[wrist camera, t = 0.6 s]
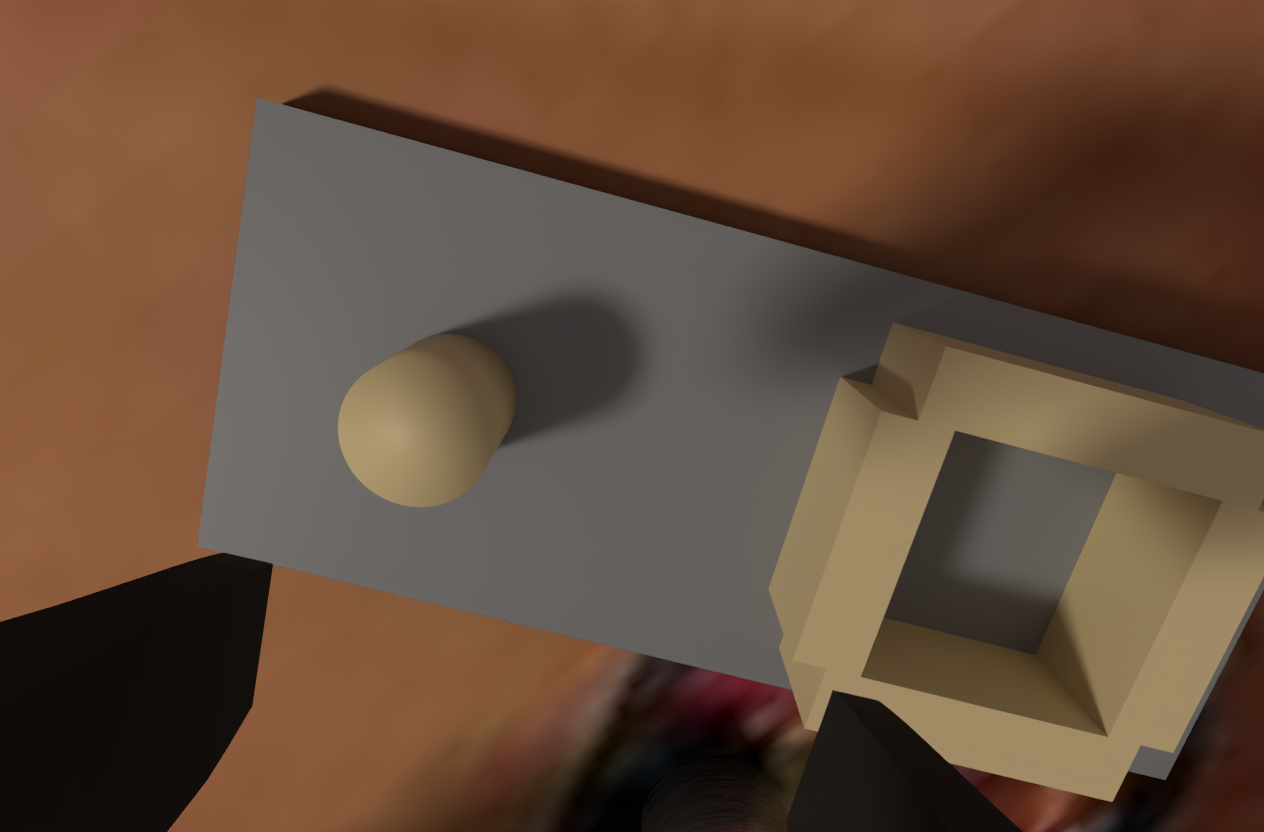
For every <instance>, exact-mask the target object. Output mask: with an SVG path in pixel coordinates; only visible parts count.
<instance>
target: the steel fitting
mask: <svg viewBox="0 0 1264 832" xmlns="http://www.w3.org/2000/svg"><path fill="white" fill-rule="evenodd" d="M789 812H790V809H789V806H788V803H787V800H786V797H785V796H784V794H783V792H782V790H781V789H780V788H779V786H778V785H777V784H776V783H775V782H774V781H773V780H772V778H770V777H769V776H768V775H767V774H765V773H764V772H762V771H761V770H759V769H757V768H756V767H753V766H751V765H749V764H746V763H743V762H740V761H736V760H730V759H718V758H717V759H705V760H698V761H695V762H691V763H688V764H685V765H683V766H681V767H678V768H677V769H675V770H673V771H671V772H670V773H669V774H667V775H666V776H664V777H663V778H662V779H661V780H660V781H659V782H658V783H657V784H656V785H655V787H654V788H653V789H652V790H651V792H650V794H649V795H648V797H647V799H646V802H645V804H644V807H643V812H642V820H641V832H787V823H786V821H787V818H788V815H789Z"/></svg>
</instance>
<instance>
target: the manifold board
mask: <svg viewBox="0 0 1264 832" xmlns="http://www.w3.org/2000/svg"><path fill="white" fill-rule="evenodd" d="M197 547H201V548H205V549H210V550H214V551H218V552H222V553H228V554H233V555H237V556H241V557H246V558H250V559H255V560H259V561H264V562H268V563H272V564H273V565H276V566H280V567H284V568H288V569H293V570H297V571H301V572H305V573H309V574H313V575H317V576H322V577H326V578H330V579H334V580H338V581H342V582H346V583H351V584H355V585H359V586H363V587H367V588H371V589H375V590H380V591H384V592H388V593H392V594H396V595H400V596H404V597H409V598H413V599H417V600H421V601H425V602H429V603H434V604H438V605H442V606H446V607H450V608H454V609H458V610H463V611H467V612H471V613H475V614H479V615H483V616H487V617H492V618H496V619H500V620H504V621H508V622H512V623H516V624H521V625H525V626H529V627H533V628H537V629H541V630H545V631H550V632H554V633H558V634H562V635H566V636H570V637H574V638H579V639H583V640H587V641H591V642H595V643H599V644H604V645H608V646H612V647H616V648H620V649H624V650H628V651H633V652H637V653H641V654H645V655H649V656H653V657H657V658H662V659H666V660H670V661H674V662H678V663H682V664H686V665H691V666H695V667H699V668H703V669H707V670H711V671H715V672H720V673H724V674H728V675H732V676H736V677H740V678H744V679H749V680H753V681H757V682H761V683H765V684H769V685H774V686H778V687H782V688H786V689H790V690H792V691H793V694H794V697H795V700H796V703H797V706H798V710H799V713H800V716H801V719H802V722H803V725H804V729H808V730H813V731H817V732H818V730H819V727H820V725H821V722H822V719H823V716H824V713H825V710H826V708H827V705H828V702H829V699H830V696H831V693H832V691H833V690H834V691H839V692H843V693H848V694H852V695H857V696H861V697H865V698H870V699H874V700H878V701H880V702H881V703H882V704H884V705H885V706H886V707H888V708H889V709H890V710H891V711H893V712H894V713H895V714H896V715H897V716H899V717H900V718H901V719H902V720H903V721H904V722H905V723H907V724H908V725H909V726H910V727H911V728H912V729H913V730H914V731H915V732H916V733H917V734H919V735H920V736H921V737H922V738H923V739H924V740H925V741H926V742H927V743H928V744H929V745H930V746H931V747H933V748H934V749H935V750H936V751H937V752H938V753H939V754H940V755H941V756H942V757H943V758H944V759H945V760H946V761H947V762H948V763H951V764H955V765H959V766H964V767H968V768H972V769H976V770H980V771H985V772H989V773H993V774H997V775H1001V776H1005V777H1010V778H1014V779H1018V780H1022V781H1026V782H1031V783H1035V784H1039V785H1043V786H1047V787H1052V788H1056V789H1060V790H1064V791H1068V792H1073V793H1077V794H1081V795H1085V796H1089V797H1094V798H1098V799H1102V800H1106V801H1110V802H1113V800H1114V798H1115V796H1116V794H1117V792H1118V790H1119V788H1120V786H1121V784H1122V782H1123V780H1124V778H1125V776H1126V774H1127V772H1128V771H1130V772H1134V773H1138V774H1143V775H1147V776H1151V777H1155V778H1159V779H1163V780H1166V778H1167V776H1168V774H1169V772H1170V770H1171V768H1172V766H1173V764H1174V763H1175V761H1176V759H1177V757H1178V755H1179V753H1180V751H1181V749H1182V747H1183V745H1184V743H1185V741H1186V739H1187V737H1188V735H1189V733H1190V732H1191V730H1192V728H1193V726H1194V724H1195V722H1196V720H1197V718H1198V716H1199V714H1200V712H1201V710H1202V708H1203V706H1204V704H1205V702H1206V701H1207V699H1208V697H1209V695H1210V693H1211V691H1212V689H1213V687H1214V685H1215V683H1216V681H1217V679H1218V677H1219V675H1220V673H1221V671H1222V669H1223V668H1224V666H1225V664H1226V662H1227V660H1228V658H1229V656H1230V654H1231V652H1232V650H1233V648H1234V646H1235V644H1236V642H1237V640H1238V638H1239V637H1240V635H1241V633H1242V631H1243V629H1244V627H1245V625H1246V623H1247V621H1248V619H1249V617H1250V615H1251V613H1252V611H1253V609H1254V607H1255V605H1256V604H1257V602H1258V600H1259V598H1260V596H1261V594H1262V592H1263V590H1264V373H1261V372H1258V371H1254V370H1250V369H1247V368H1243V367H1240V366H1236V365H1232V364H1229V363H1225V362H1221V361H1218V360H1214V359H1210V358H1207V357H1203V356H1199V355H1196V354H1192V353H1188V352H1185V351H1181V350H1177V349H1174V348H1170V347H1166V346H1163V345H1159V344H1156V343H1152V342H1148V341H1145V340H1141V339H1137V338H1134V337H1130V336H1126V335H1123V334H1119V333H1115V332H1112V331H1108V330H1104V329H1101V328H1097V327H1093V326H1090V325H1086V324H1082V323H1079V322H1075V321H1071V320H1068V319H1064V318H1061V317H1057V316H1053V315H1050V314H1046V313H1042V312H1039V311H1035V310H1031V309H1028V308H1024V307H1020V306H1017V305H1013V304H1009V303H1006V302H1002V301H998V300H995V299H991V298H987V297H984V296H980V295H977V294H973V293H969V292H966V291H962V290H958V289H955V288H951V287H947V286H944V285H940V284H936V283H933V282H929V281H925V280H922V279H918V278H914V277H911V276H907V275H903V274H900V273H896V272H893V271H889V270H885V269H882V268H878V267H874V266H871V265H867V264H863V263H860V262H856V261H852V260H849V259H845V258H841V257H838V256H834V255H830V254H827V253H823V252H819V251H816V250H812V249H808V248H805V247H801V246H798V245H794V244H790V243H787V242H783V241H779V240H776V239H772V238H768V237H765V236H761V235H757V234H754V233H750V232H746V231H743V230H739V229H735V228H732V227H728V226H724V225H721V224H717V223H714V222H710V221H706V220H703V219H699V218H695V217H692V216H688V215H684V214H681V213H677V212H673V211H670V210H666V209H662V208H659V207H655V206H651V205H648V204H644V203H640V202H637V201H633V200H629V199H626V198H622V197H619V196H615V195H611V194H608V193H604V192H600V191H597V190H593V189H589V188H586V187H582V186H578V185H575V184H571V183H567V182H564V181H560V180H556V179H553V178H549V177H545V176H542V175H538V174H535V173H531V172H527V171H524V170H520V169H516V168H513V167H509V166H505V165H502V164H498V163H494V162H491V161H487V160H483V159H480V158H476V157H472V156H469V155H465V154H461V153H458V152H454V151H450V150H447V149H443V148H440V147H436V146H432V145H429V144H425V143H421V142H418V141H414V140H410V139H407V138H403V137H399V136H396V135H392V134H388V133H385V132H381V131H377V130H374V129H370V128H366V127H363V126H359V125H356V124H352V123H348V122H345V121H341V120H337V119H334V118H330V117H326V116H323V115H319V114H315V113H312V112H308V111H304V110H301V109H297V108H293V107H290V106H286V105H282V104H279V103H275V102H272V101H268V100H264V99H261V98H257V101H256V108H255V116H254V123H253V131H252V138H251V146H250V153H249V161H248V168H247V176H246V183H245V191H244V198H243V206H242V213H241V221H240V228H239V236H238V243H237V251H236V259H235V266H234V274H233V281H232V289H231V296H230V304H229V311H228V319H227V326H226V334H225V341H224V349H223V356H222V364H221V371H220V379H219V386H218V394H217V401H216V409H215V416H214V424H213V431H212V439H211V447H210V454H209V462H208V469H207V477H206V484H205V492H204V499H203V507H202V514H201V522H200V529H199V537H198V544H197Z"/></svg>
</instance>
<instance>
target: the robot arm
mask: <svg viewBox="0 0 1264 832" xmlns="http://www.w3.org/2000/svg"><path fill="white" fill-rule="evenodd" d="M272 567H273V564H272V563H268V562H264V561H259V560H255V559H250V558H246V557H241V556H237V555H233V554H228V553H220V554H215V555H211V556H207V557H204V558H200V559H197V560H193V561H190V562H187V563H184V564H180V565H177V566H174V567H171V568H168V569H165V570H162V571H159V572H156V573H153V574H150V575H147V576H144V577H141V578H138V579H135V580H132V581H129V582H126V583H123V584H120V585H117V586H114V587H111V588H108V589H105V590H102V591H99V592H96V593H93V594H90V595H87V596H84V597H81V598H78V599H75V600H72V601H69V602H66V603H62V604H59V605H56V606H53V607H50V608H46V609H43V610H39V611H36V612H33V613H29V614H26V615H22V616H19V617H16V618H12V619H9V620H5V621H2V622H0V832H167V831H168V830H169V828H170V827H171V826H172V825H173V823H174V822H175V821H176V819H177V818H178V817H179V816H180V814H181V813H182V812H183V811H184V809H185V808H186V807H187V805H188V804H189V803H190V802H191V800H192V799H193V798H194V796H195V795H196V794H197V793H198V791H199V790H200V789H201V787H202V786H203V785H204V783H205V782H206V781H207V779H208V778H209V776H210V775H211V773H212V772H213V770H214V768H215V767H216V765H217V764H218V762H219V760H220V759H221V757H222V756H223V754H224V752H225V751H226V749H227V748H228V746H229V744H230V743H231V741H232V739H233V738H234V736H235V734H236V733H237V731H238V729H239V727H240V726H241V724H242V722H243V721H244V719H245V717H246V716H247V714H248V712H249V710H250V709H251V707H252V704H253V697H254V691H255V684H256V677H257V670H258V663H259V656H260V649H261V643H262V636H263V629H264V622H265V615H266V608H267V601H268V595H269V588H270V581H271V574H272ZM786 823H787V832H1023V831H1021V830H1020V829H1019V828H1018V827H1017V826H1016V825H1015V824H1014V823H1013V822H1012V821H1010V820H1009V819H1008V818H1007V817H1006V816H1005V815H1004V814H1003V813H1002V812H1001V811H1000V810H998V809H997V808H996V807H995V806H994V805H993V804H992V803H991V802H990V801H989V800H988V799H987V798H986V797H984V796H983V795H982V794H981V793H980V792H979V791H978V790H977V789H976V788H975V787H974V786H973V785H972V784H971V783H970V782H968V781H967V780H966V779H965V778H964V777H963V776H962V775H961V774H960V773H959V772H958V771H957V770H956V769H955V768H954V767H953V766H952V765H950V764H949V763H948V762H947V761H946V760H945V759H944V758H943V757H942V756H941V755H940V754H939V753H938V752H937V751H936V750H935V749H934V748H933V747H931V746H930V745H929V744H928V743H927V742H926V741H925V740H924V739H923V738H922V737H921V736H920V735H919V734H917V733H916V732H915V731H914V730H913V729H912V728H911V727H910V726H909V725H908V724H907V723H905V722H904V721H903V720H902V719H901V718H900V717H899V716H897V715H896V714H895V713H894V712H893V711H891V710H890V709H889V708H888V707H886V706H885V705H884V704H882V703H881V702H880V701H878V700H874V699H870V698H865V697H861V696H857V695H852V694H848V693H843V692H839V691H834V690H833V691H832V693H831V696H830V699H829V702H828V705H827V708H826V710H825V713H824V716H823V719H822V722H821V725H820V727H819V730H818V733H817V736H816V739H815V742H814V744H813V747H812V750H811V753H810V756H809V759H808V761H807V764H806V767H805V770H804V773H803V775H802V778H801V781H800V784H799V787H798V790H797V792H796V795H795V798H794V801H793V804H792V807H791V809H790V812H789V815H788V818H787V821H786Z"/></svg>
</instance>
